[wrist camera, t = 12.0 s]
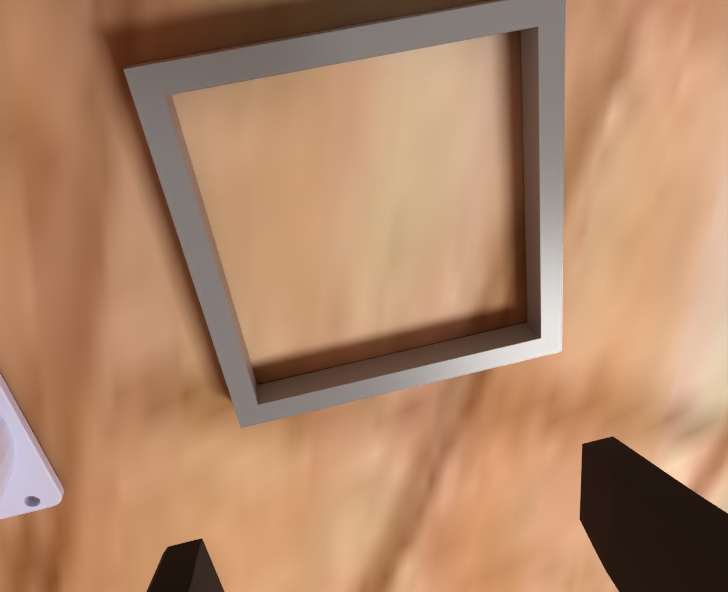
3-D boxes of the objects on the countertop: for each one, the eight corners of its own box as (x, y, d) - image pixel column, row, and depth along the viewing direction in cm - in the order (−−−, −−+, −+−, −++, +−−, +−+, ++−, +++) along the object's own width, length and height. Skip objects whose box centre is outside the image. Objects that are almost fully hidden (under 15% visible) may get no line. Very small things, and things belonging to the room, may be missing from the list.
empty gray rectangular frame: (241, 407, 22) (240, 427, 20) (131, 64, 16) (123, 69, 15) (547, 335, 23) (562, 351, 22) (545, -10, 17) (565, -11, 16)
